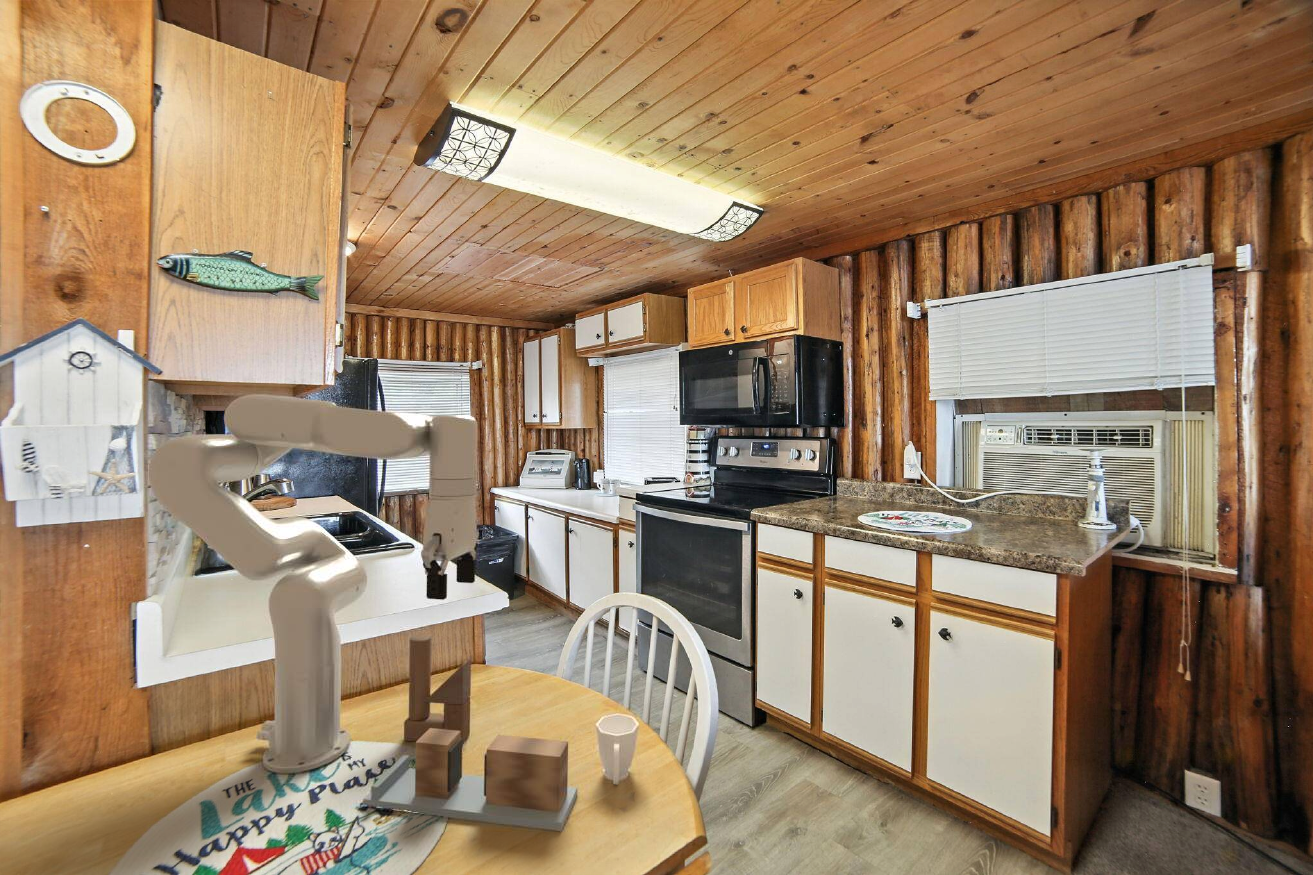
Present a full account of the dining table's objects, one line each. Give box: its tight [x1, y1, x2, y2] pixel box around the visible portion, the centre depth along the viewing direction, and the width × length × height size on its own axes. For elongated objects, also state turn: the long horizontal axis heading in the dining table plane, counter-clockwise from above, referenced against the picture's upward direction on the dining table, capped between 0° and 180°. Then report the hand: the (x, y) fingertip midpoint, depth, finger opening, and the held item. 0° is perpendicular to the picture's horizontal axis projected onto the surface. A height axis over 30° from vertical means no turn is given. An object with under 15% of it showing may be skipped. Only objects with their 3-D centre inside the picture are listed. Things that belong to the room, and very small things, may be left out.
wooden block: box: [403, 633, 472, 745], centre depth 101 cm, size 4×11×18 cm, turn 85°
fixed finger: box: [483, 734, 569, 812], centre depth 84 cm, size 11×4×8 cm, turn 82°
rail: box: [362, 754, 578, 832], centre depth 85 cm, size 30×8×3 cm, turn 82°
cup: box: [595, 713, 640, 785], centre depth 91 cm, size 7×10×8 cm
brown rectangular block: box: [414, 728, 463, 799], centre depth 85 cm, size 5×4×8 cm
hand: (451, 590), depth 95 cm, fingers open, 9 cm apart
